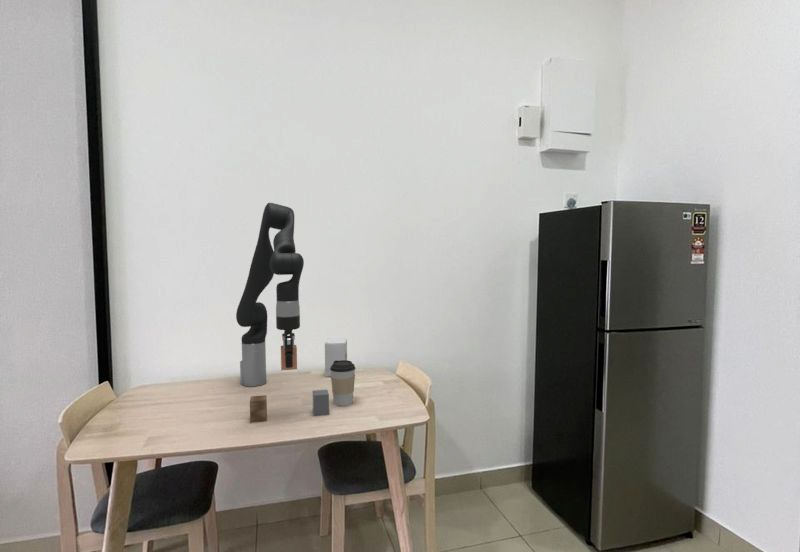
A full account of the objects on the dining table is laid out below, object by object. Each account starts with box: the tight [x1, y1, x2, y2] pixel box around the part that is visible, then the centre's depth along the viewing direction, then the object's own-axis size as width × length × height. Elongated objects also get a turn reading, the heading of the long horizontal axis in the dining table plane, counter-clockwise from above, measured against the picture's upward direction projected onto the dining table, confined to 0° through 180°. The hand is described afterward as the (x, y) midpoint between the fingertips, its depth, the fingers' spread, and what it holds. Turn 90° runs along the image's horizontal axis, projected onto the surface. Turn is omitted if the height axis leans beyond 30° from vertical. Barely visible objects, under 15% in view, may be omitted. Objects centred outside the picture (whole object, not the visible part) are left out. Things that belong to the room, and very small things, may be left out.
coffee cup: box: [330, 359, 356, 407], centre depth 155 cm, size 9×9×15 cm
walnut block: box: [249, 394, 268, 424], centre depth 141 cm, size 5×5×7 cm
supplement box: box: [324, 338, 348, 378], centre depth 190 cm, size 9×9×15 cm
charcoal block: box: [312, 389, 330, 417], centre depth 146 cm, size 5×5×7 cm
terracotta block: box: [280, 344, 298, 371], centre depth 143 cm, size 5×5×7 cm
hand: (289, 364), depth 143 cm, fingers closed on terracotta block, 5 cm apart
